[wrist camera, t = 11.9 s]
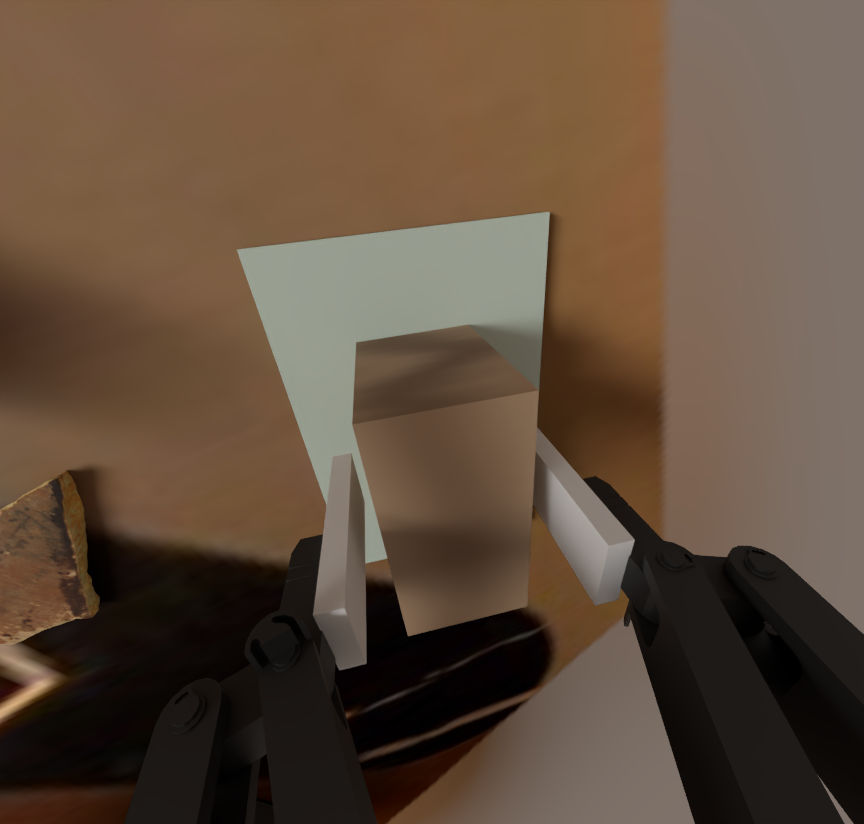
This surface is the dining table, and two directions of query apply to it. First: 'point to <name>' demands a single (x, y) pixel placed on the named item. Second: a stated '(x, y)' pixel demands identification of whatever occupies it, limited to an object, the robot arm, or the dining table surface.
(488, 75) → the dining table surface
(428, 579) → the beige block
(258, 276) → the felt mat
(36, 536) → the shard
